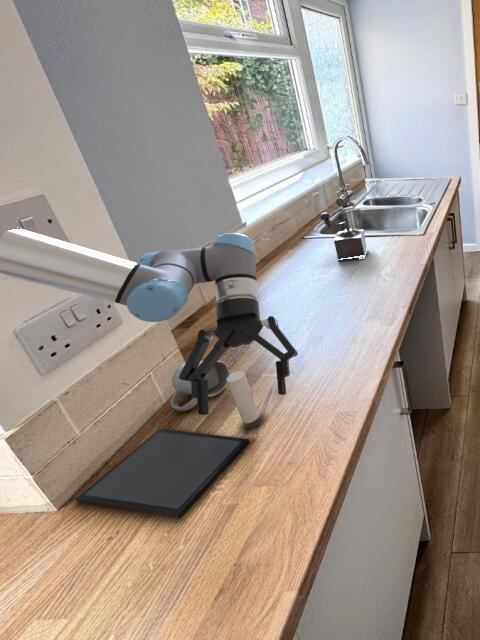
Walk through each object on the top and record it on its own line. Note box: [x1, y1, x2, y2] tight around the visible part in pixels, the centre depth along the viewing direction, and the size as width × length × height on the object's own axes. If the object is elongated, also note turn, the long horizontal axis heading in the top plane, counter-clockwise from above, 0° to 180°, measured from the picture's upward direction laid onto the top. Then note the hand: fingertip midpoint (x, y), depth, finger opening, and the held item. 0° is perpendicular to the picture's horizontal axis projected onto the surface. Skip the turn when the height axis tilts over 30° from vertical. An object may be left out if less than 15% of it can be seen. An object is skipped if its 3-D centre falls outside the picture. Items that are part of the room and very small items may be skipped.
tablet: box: [75, 428, 250, 520], centre depth 73 cm, size 20×15×1 cm
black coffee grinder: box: [319, 211, 368, 263], centre depth 159 cm, size 16×11×18 cm
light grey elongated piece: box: [226, 371, 262, 430], centre depth 80 cm, size 3×3×12 cm
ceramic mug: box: [170, 360, 230, 412], centre depth 89 cm, size 11×8×8 cm
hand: (243, 404), depth 79 cm, fingers open, 13 cm apart
